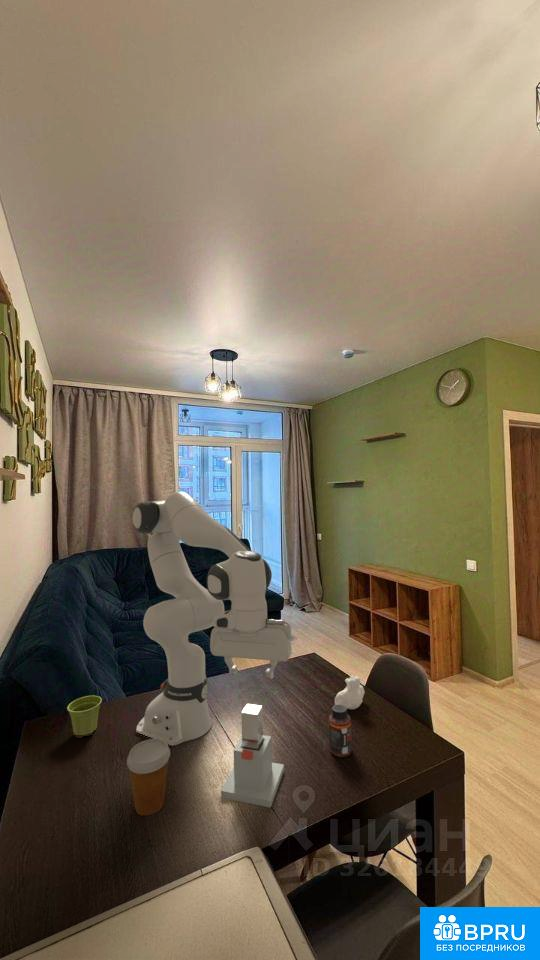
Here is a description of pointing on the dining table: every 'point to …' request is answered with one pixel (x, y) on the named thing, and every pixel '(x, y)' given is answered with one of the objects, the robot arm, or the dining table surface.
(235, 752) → the stand base
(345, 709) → the supplement bottle
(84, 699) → the plant pot
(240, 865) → the dining table surface
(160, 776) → the disposable coffee cup
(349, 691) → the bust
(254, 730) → the column
